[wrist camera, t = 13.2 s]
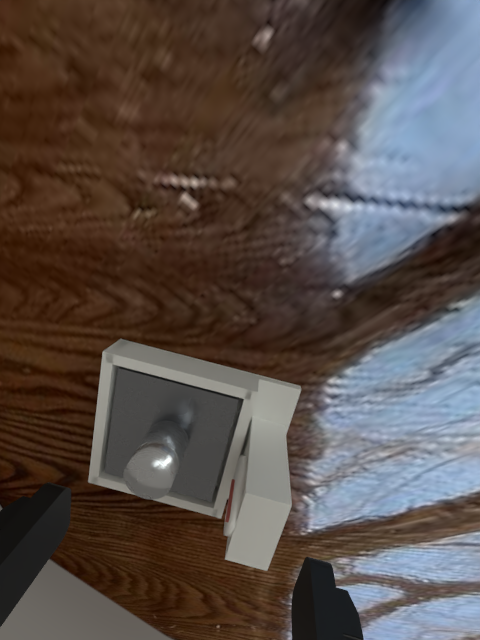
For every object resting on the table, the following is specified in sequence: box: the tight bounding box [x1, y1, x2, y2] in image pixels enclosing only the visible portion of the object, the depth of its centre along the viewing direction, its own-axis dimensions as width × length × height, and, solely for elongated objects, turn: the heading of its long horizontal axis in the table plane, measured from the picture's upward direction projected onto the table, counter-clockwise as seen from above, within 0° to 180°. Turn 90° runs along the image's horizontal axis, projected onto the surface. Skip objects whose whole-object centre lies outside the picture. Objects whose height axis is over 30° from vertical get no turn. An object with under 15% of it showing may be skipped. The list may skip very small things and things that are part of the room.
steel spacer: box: [123, 421, 188, 500], centre depth 31 cm, size 5×5×6 cm
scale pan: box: [104, 366, 239, 502], centre depth 35 cm, size 14×15×1 cm
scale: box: [88, 339, 301, 571], centre depth 32 cm, size 22×18×12 cm
